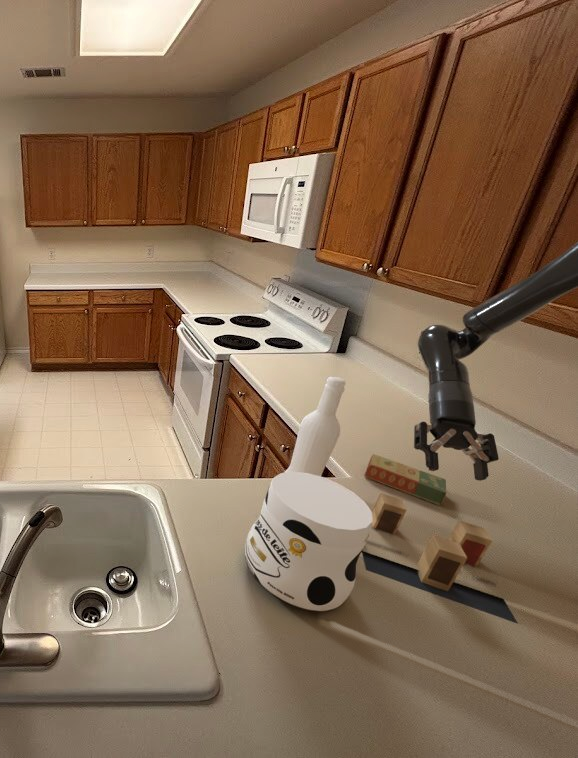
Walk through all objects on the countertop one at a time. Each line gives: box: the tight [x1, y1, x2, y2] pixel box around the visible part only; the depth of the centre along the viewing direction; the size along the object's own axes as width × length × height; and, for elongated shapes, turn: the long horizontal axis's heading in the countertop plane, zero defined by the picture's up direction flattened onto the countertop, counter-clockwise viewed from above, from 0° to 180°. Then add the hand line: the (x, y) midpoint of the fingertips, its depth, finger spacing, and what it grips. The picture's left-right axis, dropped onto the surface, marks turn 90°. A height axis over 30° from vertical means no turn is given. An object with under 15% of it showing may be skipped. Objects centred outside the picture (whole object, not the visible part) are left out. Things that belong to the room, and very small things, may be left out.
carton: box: [364, 453, 448, 507], centre depth 106 cm, size 8×16×4 cm, turn 50°
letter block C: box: [447, 520, 493, 567], centre depth 81 cm, size 4×4×8 cm
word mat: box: [361, 550, 519, 625], centre depth 77 cm, size 22×8×1 cm, turn 64°
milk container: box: [244, 471, 373, 612], centre depth 72 cm, size 17×17×18 cm
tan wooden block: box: [371, 492, 408, 535], centre depth 88 cm, size 4×4×8 cm
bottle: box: [283, 376, 346, 477], centre depth 95 cm, size 8×8×30 cm
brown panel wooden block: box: [415, 534, 467, 591], centre depth 75 cm, size 4×4×8 cm
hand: (457, 474), depth 87 cm, fingers open, 8 cm apart
